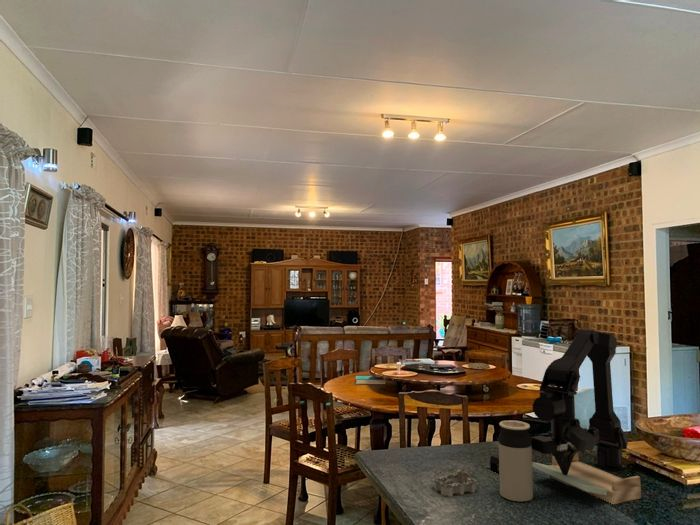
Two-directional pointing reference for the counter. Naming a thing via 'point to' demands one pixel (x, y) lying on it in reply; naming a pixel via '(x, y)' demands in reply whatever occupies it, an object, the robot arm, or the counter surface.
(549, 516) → the counter surface
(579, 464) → the cart bed
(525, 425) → the travel mug
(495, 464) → the build plate
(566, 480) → the panel
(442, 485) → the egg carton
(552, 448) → the robot arm
